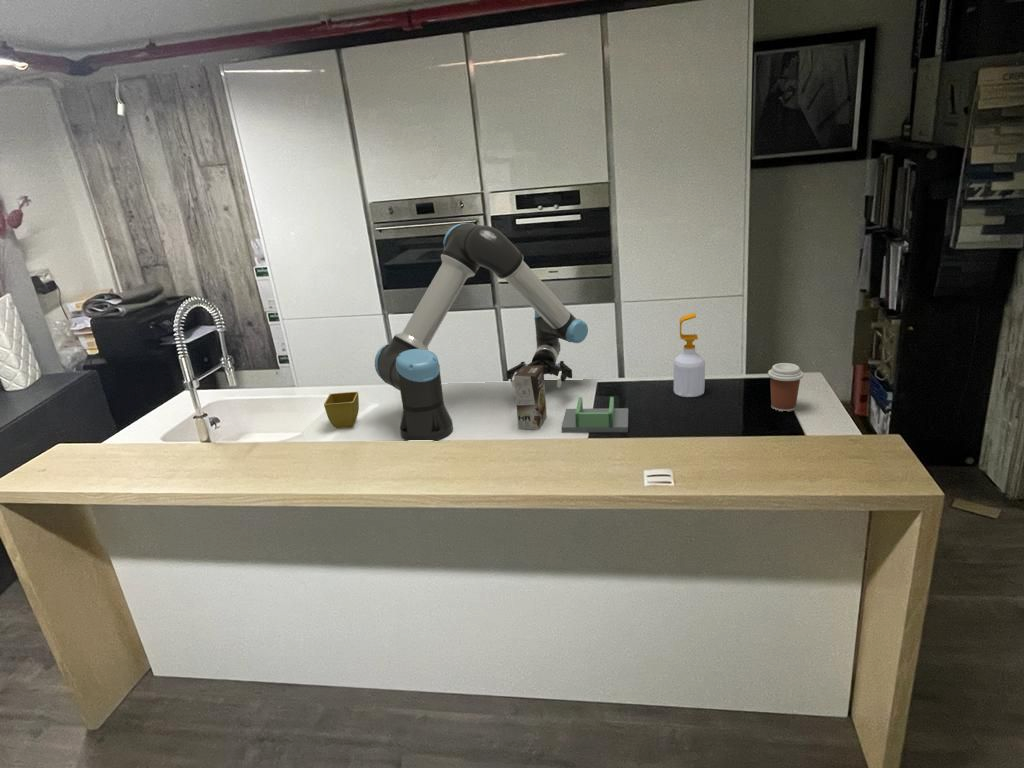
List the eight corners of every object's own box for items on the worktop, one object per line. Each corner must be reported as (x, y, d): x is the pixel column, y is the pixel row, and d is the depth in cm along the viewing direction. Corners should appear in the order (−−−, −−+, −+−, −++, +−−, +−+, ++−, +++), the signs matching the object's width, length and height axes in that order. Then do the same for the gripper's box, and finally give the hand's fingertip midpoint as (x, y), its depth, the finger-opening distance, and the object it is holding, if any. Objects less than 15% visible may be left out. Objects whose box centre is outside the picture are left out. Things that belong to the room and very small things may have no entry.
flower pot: (363, 418, 208) (358, 390, 205) (358, 429, 200) (353, 401, 197) (334, 420, 208) (329, 393, 205) (328, 432, 200) (323, 404, 197)
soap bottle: (705, 397, 201) (707, 318, 192) (673, 397, 203) (674, 318, 194) (703, 386, 209) (705, 309, 200) (673, 386, 211) (673, 310, 202)
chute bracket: (561, 432, 187) (560, 414, 185) (566, 413, 199) (565, 396, 197) (627, 432, 183) (627, 413, 181) (628, 413, 195) (628, 395, 193)
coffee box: (539, 430, 189) (535, 376, 184) (517, 428, 191) (512, 375, 186) (547, 417, 197) (544, 365, 192) (526, 415, 199) (522, 364, 194)
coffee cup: (766, 412, 188) (769, 372, 183) (765, 400, 196) (767, 361, 191) (802, 414, 185) (805, 373, 181) (799, 401, 193) (802, 361, 189)
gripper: (583, 370, 218) (578, 394, 199) (507, 371, 223) (495, 395, 204) (582, 347, 216) (577, 370, 196) (506, 349, 220) (493, 372, 201)
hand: (535, 383), depth 200 cm, fingers open, 13 cm apart
